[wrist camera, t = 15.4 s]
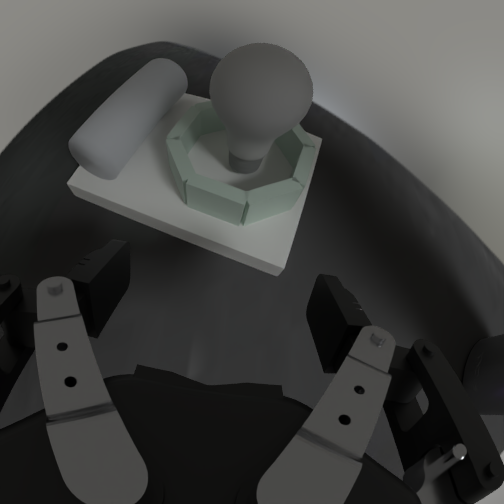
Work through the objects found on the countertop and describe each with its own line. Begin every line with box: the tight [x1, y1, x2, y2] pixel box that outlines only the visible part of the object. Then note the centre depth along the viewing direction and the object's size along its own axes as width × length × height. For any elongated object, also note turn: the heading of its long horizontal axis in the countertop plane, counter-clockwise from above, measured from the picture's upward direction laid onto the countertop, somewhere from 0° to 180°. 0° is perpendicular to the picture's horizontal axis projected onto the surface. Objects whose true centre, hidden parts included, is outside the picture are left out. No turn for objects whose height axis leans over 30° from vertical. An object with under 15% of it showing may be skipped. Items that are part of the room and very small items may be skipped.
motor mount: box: [67, 58, 322, 276], centre depth 20 cm, size 19×14×7 cm
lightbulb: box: [209, 43, 313, 174], centre depth 17 cm, size 6×6×11 cm
